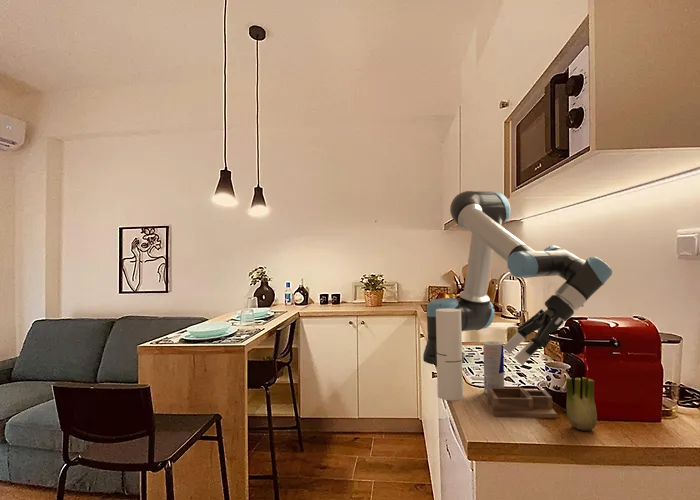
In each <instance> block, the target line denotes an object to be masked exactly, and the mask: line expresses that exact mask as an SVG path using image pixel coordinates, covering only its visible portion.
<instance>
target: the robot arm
mask: <svg viewBox="0 0 700 500" xmlns="http://www.w3.org/2000/svg"><path fill="white" fill-rule="evenodd" d="M450 203H451V204H450V209H449V212H450V216H451V218H452V220H453V221H454V222H455V223H456V225H458V226H459V227H461V229H464V230H469V231H470V232H471V237H470V245H469V254H468V257H467V258H468V259H467V266H466V267H467V268H466V274H465V283H464V290H463V291H461V292H460V293H459V296H458V297H459V298H458V299H457V298H455V297H442V298H437V299H433V300H430V301H429V302H428V303H427V305H426V306H427V307H426V322H427V323H426V330H427V331H426V332H427V340H426V345H425V348H424V351H423V353H422V355H423V357H422V358H423V362H425V363H426V364H430V365H436V366H437V340H436V309H444V308H452V309H460V310H461V330H462V332H467V331H481V330H482V329H487V328H489V327H490V326H491V325H492V323H493V322H494V318H495V312H496V311H495V309H494V305H493V303H492V302H491V298H490V297H489V295H488V289H489V288H488V287H489V280H490V275H491V269H492V268H491V267H492V260H493V255H494V252H495V253H496V254H497V255H499V257H501V258H502V259H503V260H505V262H506V265H507V269H508V270H509V273H510V274H511V275H512V276H513V277H517V278H526V279H527V278H536V277H554V276H557V277H560V278H562V279H563V280H565V282H563V283H562V284H561V285H560V286H559V287H558V288H557V289H555V291H554V294H552V295H551V296H549V297H548V299H547V300H546V301H545V302H544V306H545V307H547V309H546V310H544V309H542V308H541V309H540V310H539V311H538V312H537V313H535V314H534V315H533V316H531V317H530V318H529V319H528V320H526V321H525V322H523V323H522V324H521V325H519V326H518V327H517V331H516V332H515V334H514V335H513V336H512V337H510V339H509V340H508V341H507V342H506V343H505V344H503V350H505V351H506V352H507V353H508V354H511V353H512V352H513V351H514V350H515V349H516V348H517V347H519V345H520V344H521V343H522V342H523V341H524V340H526V339H527V338H528V336H529V335H530V334H532V333H534V332H536V331H537V332H536V334H535V336H534V337H533V338H531V339H530V341H529V342H528V343H526V345H525V346H524V347H523V348H522V349H521V350H520V351H519V352H518V353H516V355H515V356H514V357H513V358H514V359H515V360H516V361H517V362H518V363H519V364H520V365H521V366H523V365H524V364H525V363H526V362H527V361H528V360H529V359H530V358H531V357H532V356H533V355H534V354H535V353H536V352H537V351H538V350H539V349H545V348H547V346H548V345H549V343H550V341H551V340H552V338H551V339H549V333H552V332H555V331H556V332H557V331H558V329H559V328H560V327H561V326H562V325H563V324H564V322H566V321H568V320H569V319H570V318H571V317H573V316H574V314H575V311H578V310H579V309H580V308H582V307H584V306H585V303H586V302H587V301H588V300H589V299H590V297H591V296H593V294H594V293H596V292H598V290H599V289H600V288H601V287H602V286H604V285H605V284H606V282H607V281H608V280H609V279H610V277H612V275H613V270H612V268H611V267H610V266H609V264H607V263H606V262H605V261H604V260H602V259H601V258H599V257H598V256H594V255H593V256H590V257H588V258H587V259H586V260H585V259H582V258H580V257H578V256H576V255H575V254H574V253H572V252H569V251H568V250H567V249H565V248H564V247H560V246H558V245H555V244H554V245H549V246H548V247H546V248H544V250H534V249H532V248H531V247H530V246H528V245H527V244H526V243H524V242H523V241H522V240H521V239H519V238H518V237H516V236H515V235H514V234H512V233H511V232H510V231H508V230H507V229H505V227H504V226H502V224H505V223H506V222H507V221H508V220H509V218H510V215H511V205H510V201H509V199H508V198H507V196H506V195H504V194H503V193H501V192H496V191H481V190H480V191H479V190H478V191H475V190H474V191H472V190H466V191H462V192H460V193H458V194H457V195H456V196H455V197H453V199H452V201H451V202H450ZM556 332H555V333H556ZM464 362H465V355H464V352H463V351H462V364H463V363H464Z"/></svg>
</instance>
